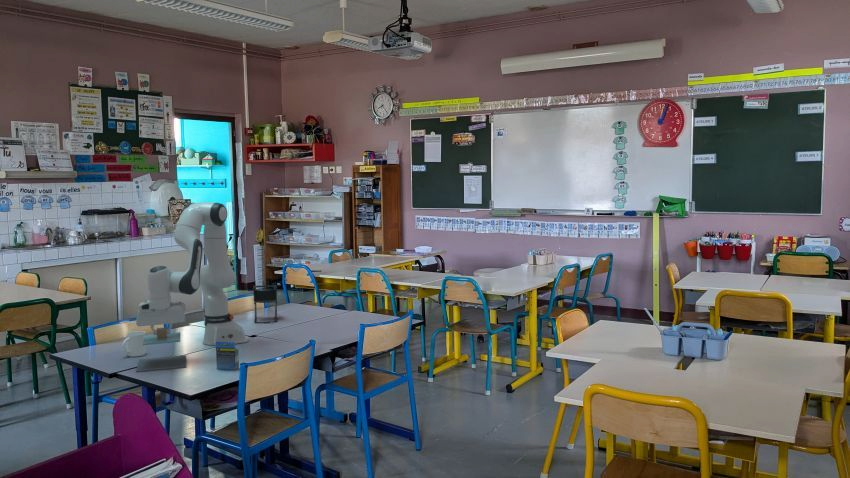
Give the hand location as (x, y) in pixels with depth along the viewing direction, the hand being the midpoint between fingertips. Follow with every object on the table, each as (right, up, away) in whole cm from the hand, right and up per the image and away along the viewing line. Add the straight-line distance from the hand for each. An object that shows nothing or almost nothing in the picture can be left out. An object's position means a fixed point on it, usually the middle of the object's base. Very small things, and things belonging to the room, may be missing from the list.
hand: (162, 334), depth 292 cm
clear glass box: (+24, -6, +93) cm, 96 cm away
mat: (0, -13, +1) cm, 13 cm away
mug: (-19, -12, +15) cm, 27 cm away
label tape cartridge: (+31, -14, -7) cm, 35 cm away
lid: (0, -2, 0) cm, 2 cm away
